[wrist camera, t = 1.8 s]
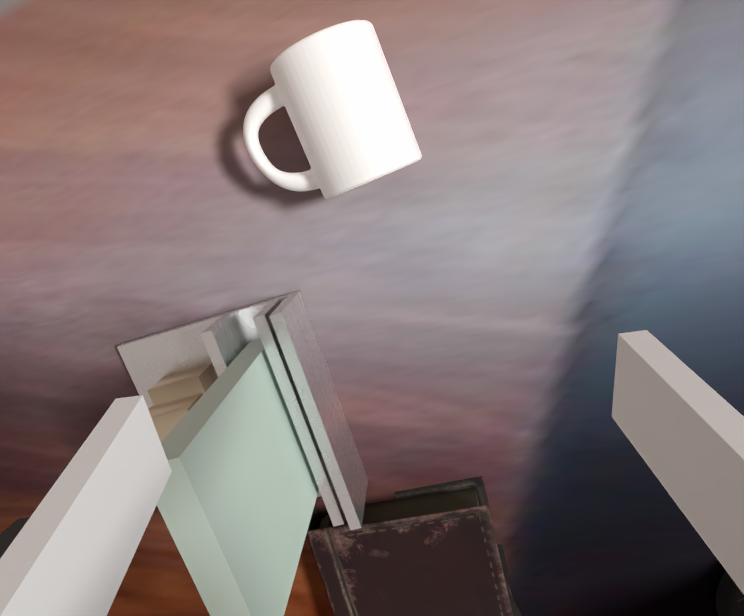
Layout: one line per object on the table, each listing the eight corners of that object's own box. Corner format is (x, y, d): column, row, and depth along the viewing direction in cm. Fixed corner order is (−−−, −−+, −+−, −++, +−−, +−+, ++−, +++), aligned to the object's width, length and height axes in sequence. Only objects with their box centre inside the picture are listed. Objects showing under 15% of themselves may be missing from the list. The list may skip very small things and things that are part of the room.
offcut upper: (243, 488, 48) (232, 510, 45) (194, 500, 48) (180, 522, 46) (201, 392, 45) (187, 408, 42) (151, 406, 46) (133, 423, 43)
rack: (368, 479, 51) (361, 527, 44) (203, 517, 54) (173, 569, 47) (300, 290, 46) (281, 312, 39) (122, 343, 49) (76, 372, 42)
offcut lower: (257, 473, 51) (248, 492, 48) (211, 485, 51) (199, 504, 48) (211, 363, 48) (198, 376, 45) (162, 377, 48) (147, 390, 46)
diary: (368, 685, 59) (364, 731, 55) (308, 501, 53) (297, 535, 48) (533, 668, 57) (543, 715, 52) (490, 471, 50) (497, 505, 46)
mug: (375, 35, 40) (367, 6, 33) (421, 158, 42) (424, 158, 35) (239, 99, 42) (201, 87, 35) (290, 214, 45) (265, 226, 37)
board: (325, 466, 50) (271, 659, 31) (301, 472, 50) (234, 666, 31) (274, 334, 46) (179, 457, 27) (250, 341, 47) (138, 467, 28)
